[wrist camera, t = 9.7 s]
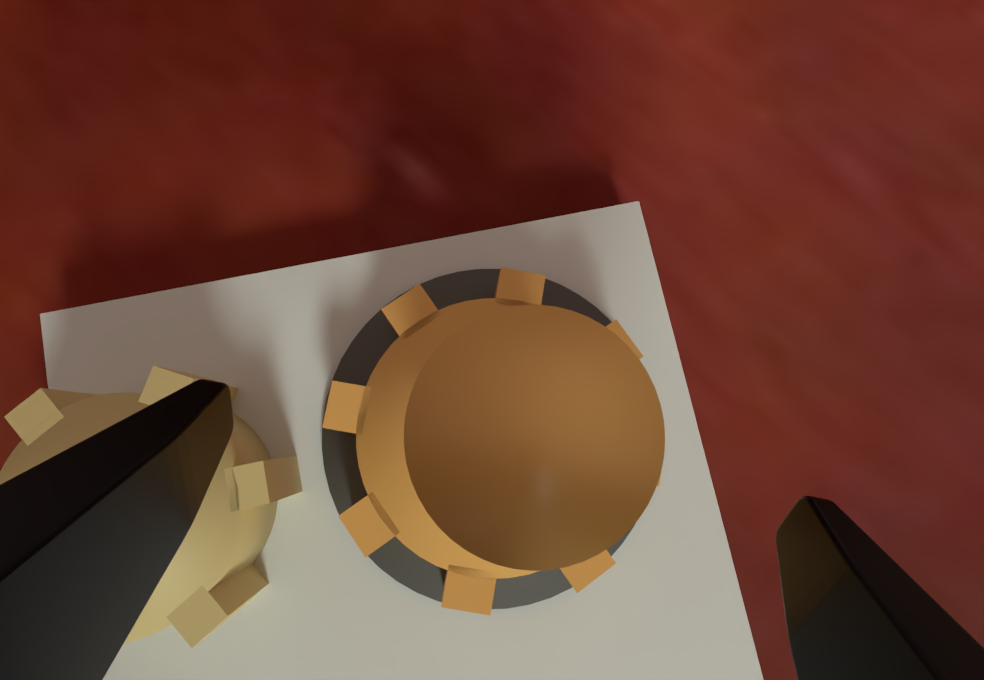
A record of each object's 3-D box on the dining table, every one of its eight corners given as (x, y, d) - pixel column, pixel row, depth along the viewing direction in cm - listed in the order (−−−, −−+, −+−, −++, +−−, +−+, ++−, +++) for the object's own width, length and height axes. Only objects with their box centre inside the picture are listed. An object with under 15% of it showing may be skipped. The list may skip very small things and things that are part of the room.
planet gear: (452, 658, 16) (444, 1007, 6) (280, 396, 17) (34, 345, 7) (699, 469, 17) (1016, 517, 8) (526, 232, 18) (605, -7, 8)
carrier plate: (131, 969, 16) (8, 1171, 12) (58, 326, 19) (-67, 292, 14) (772, 790, 18) (876, 908, 13) (625, 218, 20) (672, 157, 16)
